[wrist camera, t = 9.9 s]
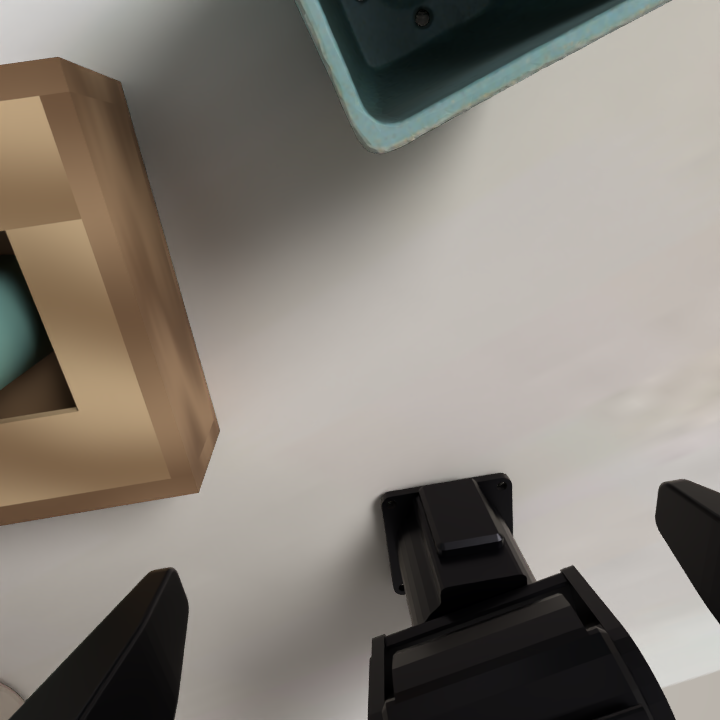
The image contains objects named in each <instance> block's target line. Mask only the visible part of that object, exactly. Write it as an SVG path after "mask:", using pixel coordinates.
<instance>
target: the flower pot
mask: <svg viewBox="0 0 720 720" xmlns="http://www.w3.org/2000/svg"><path fill="white" fill-rule="evenodd" d="M294 1H295V3H296V5H297V7H298V10H299V12H300V14H301V16H302V18H303V20H304V23H305V25H306V27H307V29H308V31H309V33H310V36H311V38H312V40H313V42H314V44H315V46H316V49H317V51H318V53H319V55H320V57H321V60H322V62H323V64H324V66H325V68H326V70H327V73H328V75H329V77H330V79H331V81H332V83H333V86H334V88H335V90H336V93H337V95H338V97H339V100H340V103H341V105H342V107H343V109H344V112H345V114H346V116H347V118H348V120H349V122H350V125H351V127H352V129H353V131H354V133H355V135H356V137H357V139H358V140H359V142H360V143H361V144H362V146H363V147H364V148H365V149H366V150H367V151H369V152H372V153H381V154H382V153H387V152H390V151H393V150H395V149H398V148H400V147H402V146H404V145H406V144H408V143H410V142H412V141H413V140H415V139H416V138H418V137H420V136H421V135H423V134H425V133H427V132H429V131H431V130H433V129H435V128H436V127H438V126H440V125H441V124H443V123H445V122H447V121H448V120H450V119H452V118H454V117H456V116H457V115H459V114H461V113H463V112H465V111H467V110H469V109H470V108H472V107H474V106H475V105H477V104H479V103H481V102H483V101H485V100H487V99H489V98H491V97H492V96H494V95H496V94H497V93H499V92H501V91H503V90H505V89H506V88H508V87H510V86H512V85H514V84H516V83H518V82H520V81H522V80H524V79H525V78H527V77H529V76H531V75H532V74H534V73H536V72H538V71H539V70H541V69H542V68H545V67H548V66H549V65H551V64H553V63H555V62H557V61H559V60H561V59H563V58H565V57H566V56H568V55H570V54H572V53H574V52H576V51H578V50H580V49H582V48H583V47H585V46H587V45H589V44H591V43H592V42H594V41H596V40H598V39H599V38H601V37H603V36H605V35H607V34H609V33H611V32H613V31H615V30H617V29H619V28H620V27H622V26H625V25H626V24H628V23H630V22H632V21H634V20H636V19H638V18H639V17H641V16H643V15H645V14H647V13H649V12H651V11H653V10H655V9H656V8H658V7H661V6H663V5H664V4H665V3H667V2H670V1H672V0H361V1H359V0H294ZM421 9H424V10H426V11H428V12H429V16H430V20H429V22H428V24H427V25H426V26H419V25H418V24H417V23H416V21H415V16H416V13H417V12H418V11H419V10H421Z"/></svg>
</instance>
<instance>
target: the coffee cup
mask: <svg viewBox="0 0 720 720" xmlns="http://www.w3.org/2000/svg"><path fill="white" fill-rule="evenodd" d="M24 703H25V702H24V701H23V699H22V698H21V697H20V696H19V695H18V694H17V693H16V692H15V691H13V690H12V689H11V688H9V687H8V686H6V685H4V684H2V683H0V720H8V719H9V718H10V717H11V716H12V715H13V714H14V713H15V712H16V711H17V710H18V709H19V708H20V707H21V706H22V705H23V704H24Z"/></svg>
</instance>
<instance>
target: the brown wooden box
mask: <svg viewBox="0 0 720 720" xmlns="http://www.w3.org/2000/svg"><path fill="white" fill-rule="evenodd" d="M0 255H15V256H16V258H17V260H18V263H19V265H20V268H21V270H22V273H23V275H24V278H25V280H26V283H27V285H28V287H29V290H30V292H31V295H32V297H33V300H34V302H35V305H36V307H37V310H38V312H39V315H40V317H41V319H42V322H43V324H44V327H45V329H46V332H47V334H48V337H49V339H50V342H51V344H52V347H53V349H54V351H53V352H51V353H50V354H49V355H47V356H46V357H45V358H43V359H42V360H41V361H39V362H38V363H36V364H35V365H34V366H32V367H31V368H30V369H28V370H27V371H26V372H24V373H23V374H21V375H20V376H19V377H17V378H16V379H15V380H13V381H12V382H11V383H9V384H8V385H6V386H5V387H4V388H2V389H1V390H0V526H2V525H8V524H14V523H20V522H26V521H32V520H38V519H44V518H50V517H56V516H62V515H68V514H74V513H80V512H86V511H92V510H98V509H104V508H110V507H116V506H122V505H128V504H134V503H140V502H146V501H152V500H158V499H164V498H170V497H176V496H182V495H188V494H194V493H199V490H200V488H201V485H202V482H203V479H204V476H205V473H206V470H207V467H208V464H209V461H210V458H211V455H212V452H213V449H214V446H215V444H216V441H217V438H218V435H219V432H220V429H219V426H218V422H217V419H216V415H215V412H214V408H213V405H212V401H211V398H210V394H209V391H208V387H207V384H206V380H205V377H204V373H203V370H202V366H201V363H200V359H199V356H198V352H197V349H196V345H195V341H194V338H193V334H192V331H191V327H190V324H189V320H188V317H187V313H186V310H185V306H184V303H183V299H182V296H181V292H180V289H179V285H178V282H177V278H176V275H175V271H174V268H173V264H172V261H171V257H170V254H169V250H168V247H167V243H166V240H165V236H164V233H163V229H162V226H161V222H160V219H159V215H158V212H157V208H156V205H155V201H154V198H153V194H152V191H151V187H150V183H149V180H148V176H147V173H146V169H145V166H144V162H143V159H142V155H141V152H140V148H139V145H138V141H137V138H136V134H135V131H134V127H133V124H132V120H131V117H130V113H129V110H128V106H127V103H126V99H125V96H124V92H123V89H122V85H121V82H120V81H117V80H115V79H112V78H110V77H107V76H105V75H102V74H100V73H97V72H95V71H92V70H90V69H87V68H85V67H82V66H80V65H77V64H75V63H72V62H70V61H67V60H65V59H62V58H60V57H54V58H47V59H40V60H33V61H26V62H18V63H11V64H4V65H0Z"/></svg>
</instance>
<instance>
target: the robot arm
mask: <svg viewBox="0 0 720 720" xmlns="http://www.w3.org/2000/svg"><path fill="white" fill-rule="evenodd" d="M501 482H504V483H503V484H502V485H500V486H497V485H498V484H499V483H501ZM389 501H395V502H394V503H392V504H388V502H389ZM381 507H382V514H383V520H384V527H385V534H386V541H387V547H388V554H389V561H390V568H391V575H392V581H393V587H394V591H395V592H396V593H397V594H400V595H404V594H406V598H407V603H408V608H409V612H410V617H411V622H412V627H410V628H407V629H405V630H402V631H399V632H396V633H394V634H391V635H388V636H386V635H385V634H383V635H381V636H378V637H375V638H372V656H371V658H370V666H369V696H368V720H676V719H675V717H674V715H673V712H672V710H671V708H670V706H669V704H668V702H667V699H666V697H665V695H664V693H663V691H662V689H661V687H660V685H659V683H658V682H657V680H656V678H655V676H654V674H653V673H652V671H651V669H650V667H649V665H648V664H647V662H646V660H645V659H644V657H643V655H642V654H641V652H640V650H639V649H638V647H637V646H636V644H635V643H634V641H633V640H632V638H631V637H630V635H629V634H628V632H627V631H626V630H625V628H624V627H623V626H622V625H621V623H620V622H619V621H618V620H617V618H616V617H615V616H614V615H613V613H612V612H611V611H610V610H609V609H608V607H607V606H606V605H605V604H604V602H603V601H602V600H601V599H600V597H599V596H598V595H597V594H596V593H595V591H594V590H593V589H592V588H591V586H590V585H589V584H588V583H587V582H586V580H585V579H584V578H583V577H582V575H581V574H580V573H579V572H578V570H577V569H576V568H575V567H574V566H573V565H572V566H570V567H567V568H564V569H561V570H560V571H561V573H558V574H555V575H553V576H550V577H547V578H544V579H542V580H539V581H536V579H535V577H534V576H533V574H532V572H531V570H530V568H529V566H528V564H527V562H526V560H525V559H524V557H523V555H522V553H521V551H520V549H519V547H518V545H517V543H516V542H515V540H514V538H513V511H512V483H511V480H510V479H509V477H508V476H507V475H506V474H504V473H497V474H491V475H485V476H479V477H473V478H467V479H461V480H455V481H449V482H443V483H437V484H431V485H425V486H420V487H414V488H408V489H402V490H396V491H390V492H387V493H385V494H384V495H383V496H382V497H381ZM655 520H656V525H657V527H658V530H659V531H660V533H661V535H662V536H663V538H664V540H665V541H666V543H667V544H668V546H669V548H670V549H671V551H672V552H673V554H674V556H675V557H676V559H677V560H678V562H679V564H680V565H681V567H682V568H683V570H684V571H685V573H686V575H687V576H688V578H689V579H690V581H691V583H692V584H693V586H694V587H695V589H696V591H697V592H698V594H699V595H700V597H701V598H702V600H703V601H704V603H705V604H706V606H707V607H708V609H709V610H710V611H711V613H712V614H713V616H714V617H715V618H716V620H717V621H718V622H719V624H720V493H719V492H716V491H714V490H711V489H709V488H706V487H704V486H701V485H699V484H696V483H694V482H691V481H689V480H685V479H678V480H673V481H667V482H663V483H662V484H661V485H660V486H659V490H658V498H657V506H656V514H655ZM402 584H404V585H402ZM188 614H189V605H188V600H187V597H186V594H185V591H184V588H183V586H182V583H181V580H180V578H179V575H178V573H177V571H176V570H175V569H174V568H172V567H169V568H163V569H157V570H153V571H151V572H149V573H148V574H147V575H146V576H145V577H144V578H143V579H142V580H141V581H140V582H139V583H138V584H137V585H136V586H135V587H134V588H133V589H132V591H131V592H130V593H129V594H128V595H127V596H126V597H125V598H124V599H123V600H122V601H121V602H120V603H119V604H118V605H117V606H116V607H115V608H114V609H113V610H112V611H111V613H110V614H109V615H108V616H107V617H106V618H105V619H104V620H103V621H102V622H101V623H100V624H99V625H98V626H97V627H96V628H95V629H94V630H93V631H92V632H91V633H90V634H89V636H88V637H87V638H86V639H85V640H84V641H83V642H82V643H81V644H80V645H79V646H78V647H77V648H76V649H75V650H74V651H73V652H72V653H71V654H70V655H69V656H68V658H67V659H66V660H65V661H64V662H63V663H62V664H61V665H60V666H59V667H58V668H57V669H56V670H55V671H54V672H53V673H52V674H51V675H50V676H49V677H48V678H47V679H46V681H45V682H44V683H43V684H42V685H41V686H40V687H39V688H38V689H37V690H36V691H35V692H34V693H33V694H32V695H31V696H30V697H29V698H28V699H27V700H26V701H25V703H24V704H23V705H22V706H21V707H20V708H19V709H18V710H17V711H16V712H15V713H14V714H13V715H12V716H11V717H10V718H9V719H8V720H174V718H175V713H176V708H177V703H178V696H179V689H180V681H181V673H182V664H183V656H184V648H185V639H186V631H187V623H188Z"/></svg>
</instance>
